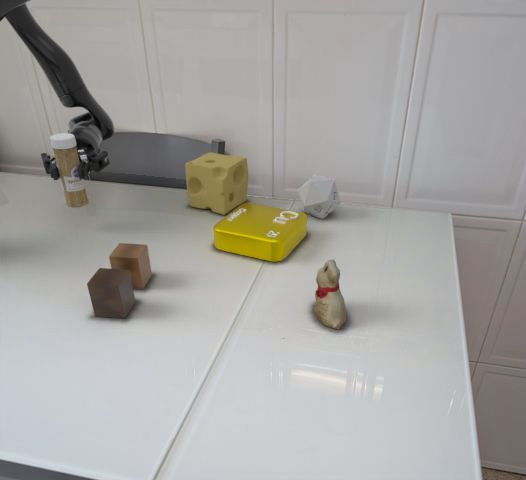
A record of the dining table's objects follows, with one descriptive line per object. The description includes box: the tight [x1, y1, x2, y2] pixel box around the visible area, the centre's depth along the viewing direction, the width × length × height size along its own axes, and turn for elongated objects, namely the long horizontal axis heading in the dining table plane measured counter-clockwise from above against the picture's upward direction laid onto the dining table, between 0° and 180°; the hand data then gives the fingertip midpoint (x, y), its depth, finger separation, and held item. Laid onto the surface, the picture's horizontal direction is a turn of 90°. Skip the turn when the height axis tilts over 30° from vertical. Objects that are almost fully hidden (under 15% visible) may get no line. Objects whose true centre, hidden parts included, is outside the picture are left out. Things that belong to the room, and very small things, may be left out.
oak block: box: [108, 242, 153, 290], centre depth 86 cm, size 5×5×6 cm
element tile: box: [213, 202, 308, 263], centre depth 99 cm, size 15×15×5 cm
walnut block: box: [86, 267, 136, 320], centre depth 79 cm, size 5×5×6 cm
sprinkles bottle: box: [49, 132, 90, 209], centre depth 98 cm, size 5×5×13 cm
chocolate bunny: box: [314, 259, 347, 330], centre depth 76 cm, size 6×8×10 cm
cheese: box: [184, 151, 249, 216], centre depth 112 cm, size 10×11×10 cm
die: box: [297, 173, 342, 220], centre depth 108 cm, size 8×9×10 cm
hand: (67, 174), depth 96 cm, fingers closed on sprinkles bottle, 4 cm apart
